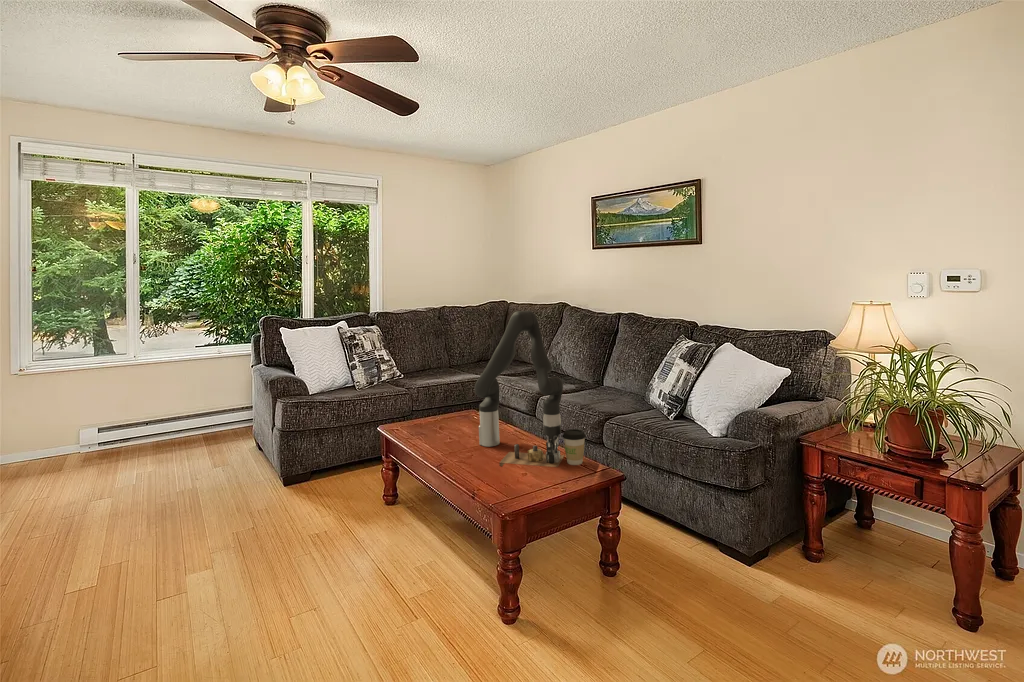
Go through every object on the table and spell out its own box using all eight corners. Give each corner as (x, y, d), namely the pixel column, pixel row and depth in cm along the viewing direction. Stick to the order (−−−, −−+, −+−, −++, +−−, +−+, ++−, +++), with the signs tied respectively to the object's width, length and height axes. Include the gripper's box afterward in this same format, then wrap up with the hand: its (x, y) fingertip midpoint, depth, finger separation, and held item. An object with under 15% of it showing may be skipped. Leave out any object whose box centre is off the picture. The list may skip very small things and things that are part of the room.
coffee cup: (561, 462, 232) (560, 429, 230) (583, 460, 233) (582, 427, 231) (565, 470, 223) (564, 436, 221) (588, 469, 224) (587, 434, 221)
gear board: (499, 465, 231) (498, 449, 230) (509, 454, 244) (508, 439, 243) (557, 470, 223) (557, 453, 222) (564, 458, 236) (564, 442, 235)
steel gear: (545, 462, 229) (545, 453, 228) (548, 457, 234) (548, 449, 233) (558, 463, 227) (557, 454, 227) (560, 458, 232) (560, 450, 232)
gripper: (547, 418, 236) (548, 454, 238) (539, 427, 223) (540, 466, 225) (564, 419, 234) (565, 455, 236) (556, 428, 220) (558, 467, 223)
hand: (553, 460), depth 231 cm, fingers closed on steel gear, 5 cm apart
